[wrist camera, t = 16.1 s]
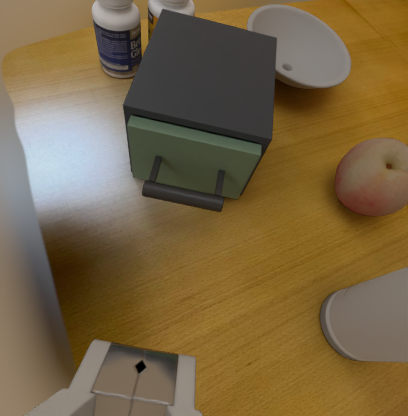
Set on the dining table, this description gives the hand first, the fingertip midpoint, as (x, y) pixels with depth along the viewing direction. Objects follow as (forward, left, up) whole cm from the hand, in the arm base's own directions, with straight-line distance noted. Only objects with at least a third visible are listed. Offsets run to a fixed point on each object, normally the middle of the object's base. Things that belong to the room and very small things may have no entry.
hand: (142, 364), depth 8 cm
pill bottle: (-12, +34, -18) cm, 40 cm away
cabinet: (0, +25, -17) cm, 30 cm away
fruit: (+20, +21, -18) cm, 34 cm away
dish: (+11, +41, -18) cm, 46 cm away
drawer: (0, +21, -16) cm, 27 cm away
